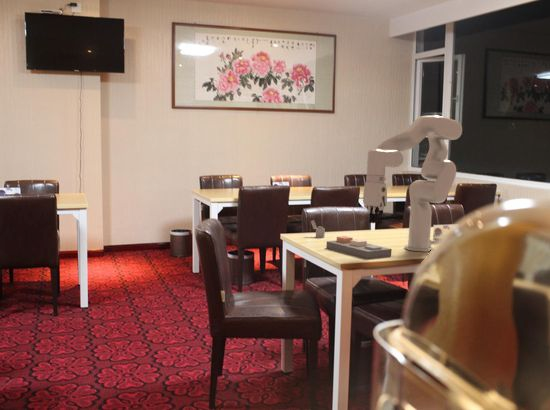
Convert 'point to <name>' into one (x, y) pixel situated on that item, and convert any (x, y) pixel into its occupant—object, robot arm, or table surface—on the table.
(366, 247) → the slate button
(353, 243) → the cream button
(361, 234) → the table surface
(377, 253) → the button panel
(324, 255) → the table surface
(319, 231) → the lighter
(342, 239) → the terracotta button
